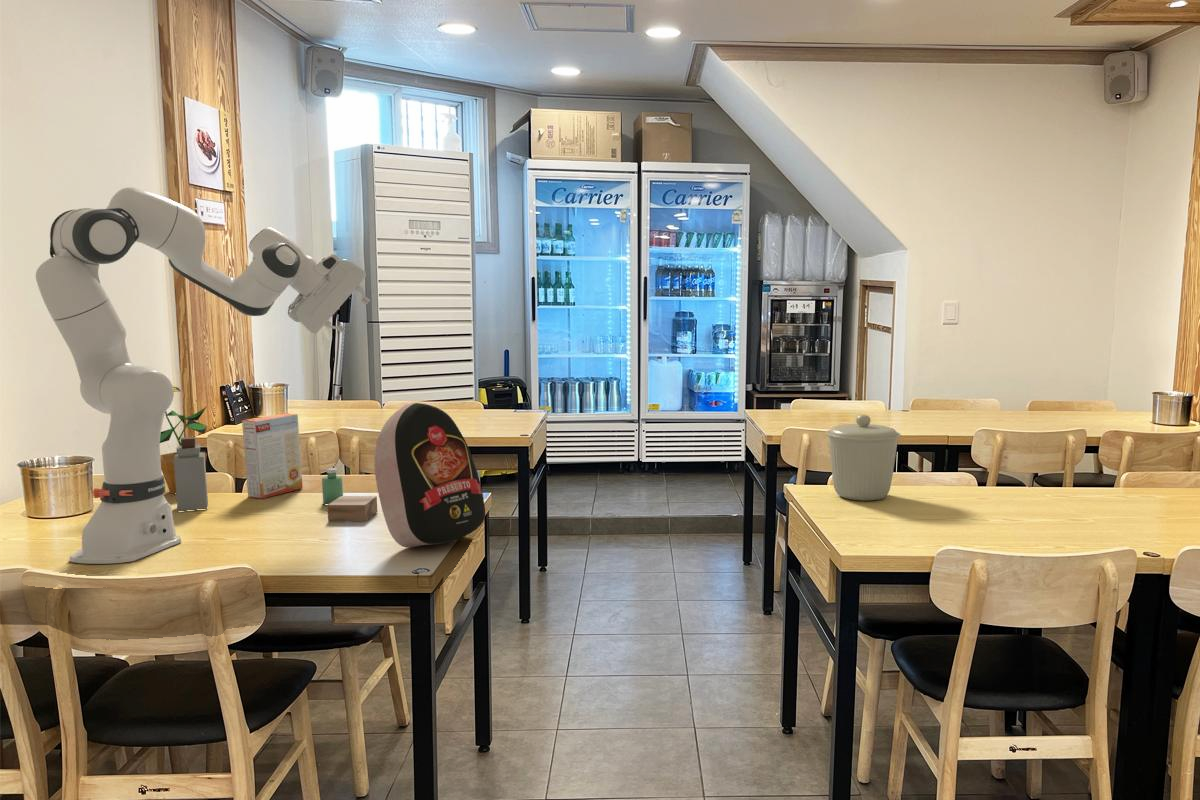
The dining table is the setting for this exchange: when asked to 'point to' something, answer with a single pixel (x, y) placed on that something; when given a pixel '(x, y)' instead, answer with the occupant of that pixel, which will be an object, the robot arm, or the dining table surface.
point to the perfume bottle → (190, 476)
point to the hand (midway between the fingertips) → (356, 316)
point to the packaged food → (426, 478)
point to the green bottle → (331, 486)
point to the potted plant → (168, 459)
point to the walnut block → (352, 508)
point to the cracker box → (272, 455)
